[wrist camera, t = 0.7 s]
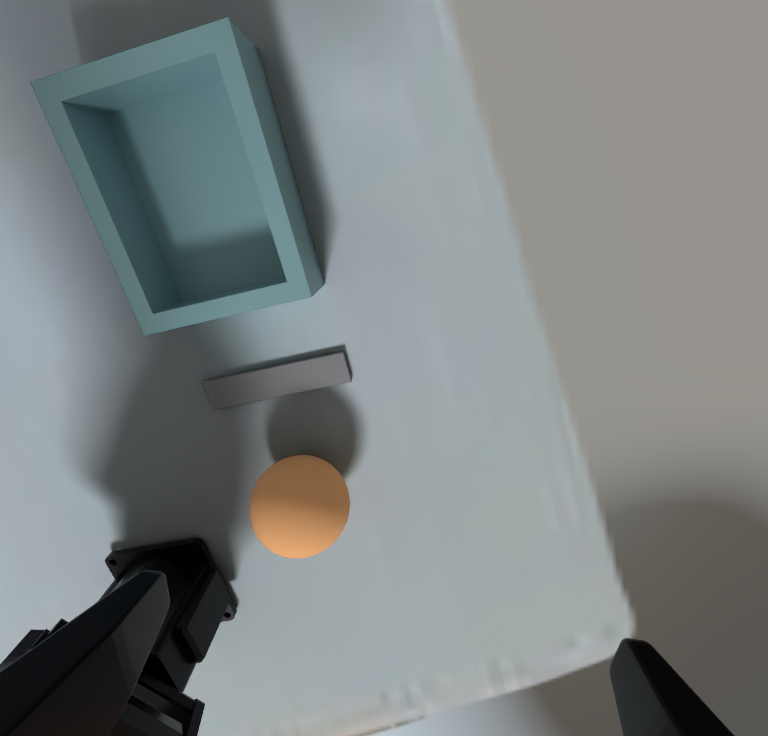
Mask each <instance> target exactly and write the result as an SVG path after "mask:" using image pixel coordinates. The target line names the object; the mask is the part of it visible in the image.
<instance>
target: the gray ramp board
mask: <svg viewBox="0 0 768 736" xmlns="http://www.w3.org/2000/svg"><path fill="white" fill-rule="evenodd" d="M351 381H352V378H351V375H350V371H349V368H348V364H347V361H346V357H345V354H344V351H340V352H335V353H331V354H326V355H321V356H317V357H312V358H307V359H303V360H298V361H293V362H289V363H284V364H279V365H275V366H270V367H265V368H261V369H256V370H251V371H247V372H242V373H237V374H233V375H228V376H223V377H219V378H214V379H209V380H205V381H203V382H202V385H203V387H204V389H205V392H206V394H207V397H208V399H209V401H210V404H211V406H212V409H213V410H216V409H221V408H225V407H230V406H235V405H240V404H245V403H250V402H255V401H260V400H265V399H270V398H275V397H279V396H284V395H289V394H294V393H299V392H304V391H309V390H314V389H319V388H324V387H329V386H333V385H338V384H343V383H348V382H351Z"/></svg>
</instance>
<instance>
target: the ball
mask: <svg viewBox="0 0 768 736" xmlns="http://www.w3.org/2000/svg"><path fill="white" fill-rule="evenodd" d="M349 507H350V500H349V492H348V488H347V486H346V483H345V481H344V479H343V477H342V476H341V474H340V473H339V472H338V470H337V469H336V468H335V467H334V466H332V465H331V464H330V463H328V462H326V461H325V460H323V459H321V458H318V457H315V456H309V455H295V456H290V457H287V458H284V459H282V460H280V461H278V462H276V463H275V464H273V465H272V466H270V467H269V468H268V469H267V470H266V471H265V472H264V473H263V474H262V475H261V477H260V478H259V480H258V481H257V483H256V485H255V487H254V489H253V492H252V495H251V499H250V520H251V524H252V527H253V530H254V532H255V534H256V536H257V537H258V539H259V540H260V541H261V542H262V543H263V545H264V546H265V547H267V548H268V549H269V550H271V551H272V552H274V553H276V554H278V555H280V556H284V557H288V558H305V557H310V556H313V555H316V554H318V553H320V552H322V551H324V550H325V549H327V548H328V547H329V546H330V545H331V544H332V543H334V542H335V540H336V539H337V538H338V537H339V535H340V534H341V532H342V531H343V529H344V527H345V524H346V522H347V519H348V515H349Z"/></svg>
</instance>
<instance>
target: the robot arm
mask: <svg viewBox="0 0 768 736" xmlns="http://www.w3.org/2000/svg"><path fill="white" fill-rule="evenodd" d="M196 547H197V548H196ZM105 562H106V565H107V566H108V568H109V570H110V571H111V573H112V575H113V576H114V578H115V580H114V582H113V583H112V584H111V585H110V587H109V588H108V589H107V590H106V592H105V593H104V594H103V596H102V597H101V598H100V599H99V601H98V602H97V603H95V604H94V605H93V606H91V607H90V608H88V609H87V610H86V611H84V612H83V613H81V614H80V615H79V616H77V617H76V618H74V619H73V620H72V621H70V622H67V621H65V620H64V619H61V620H60V621H59V622H58V623H57V624H56V625H55V626H54V627H53V628H52V629H51V630H50V631H49V630H47V629H46V630H30V632H29V633H28V634H27V635H26V636H25V637H24V638H23V639H22V640H21V642H20V643H19V644H18V645H17V646H16V647H15V648H14V650H13V651H12V652H11V653H10V654H9V655H8V656H7V657H6V659H5V660H4V661H3V662H2V663H1V664H0V736H197V734H198V730H199V726H200V722H201V718H202V714H203V710H204V706H205V703H203V702H201V701H200V700H198V699H195V700H194V699H192V698H190V697H189V696H187V695H185V694H184V693H183V691H184V689H185V687H186V685H187V682H188V680H189V678H190V676H191V674H192V672H193V669H194V667H195V665H196V663H200V662H202V660H203V659H204V658H205V656H206V653H207V651H208V649H209V647H210V644H211V642H212V640H213V638H214V635H215V633H216V631H217V629H218V627H219V624H220V622H223V621H230V620H232V619H234V617H235V614H236V612H237V609H236V607H235V605H234V603H233V601H232V599H231V596H230V594H229V592H228V590H227V588H226V586H225V584H224V582H223V580H222V578H221V576H220V574H219V571H218V569H217V567H216V565H215V563H214V561H213V559H212V557H211V555H210V553H209V551H208V549H207V547H206V544H205V543H204V541H202V540H201V539H198V538H192V539H186V540H180V541H174V542H168V543H162V544H156V545H150V546H143V547H137V548H131V549H125V550H119V551H113V552H111V553H110V554H109V555H108V557H107V558H106V559H105ZM610 677H611V682H612V687H613V691H614V696H615V700H616V705H617V709H618V714H619V718H620V723H621V728H622V732H623V736H734V735H733V734H732V732H731V731H730V730H729V729H728V728H727V727H726V726H725V725H724V724H723V723H722V721H721V720H719V718H718V717H717V716H716V715H715V714H714V713H713V712H712V711H711V710H710V708H709V707H708V706H707V705H706V704H705V703H704V702H703V701H702V700H701V699H700V698H699V696H698V695H697V694H696V693H695V692H694V691H693V690H692V689H691V688H690V687H689V686H688V684H687V683H686V682H685V681H684V680H683V679H682V678H681V677H680V676H679V675H678V673H677V672H676V671H675V670H674V669H673V668H672V667H671V666H670V665H669V664H668V663H667V661H666V660H665V659H664V658H663V657H662V656H661V655H660V654H659V653H658V652H657V651H656V649H655V648H654V647H653V646H651V644H649V643H648V642H646V641H643V640H638V639H630V638H625V639H623V640H622V641H621V643H620V645H619V647H618V649H617V651H616V653H615V656H614V658H613V660H612V662H611V666H610Z"/></svg>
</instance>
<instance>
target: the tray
mask: <svg viewBox="0 0 768 736" xmlns="http://www.w3.org/2000/svg"><path fill="white" fill-rule="evenodd" d="M30 83H31V85H32V87H33V90H34V92H35V94H36V96H37V99H38V101H39V103H40V105H41V107H42V110H43V112H44V114H45V116H46V119H47V121H48V123H49V125H50V128H51V130H52V132H53V134H54V136H55V139H56V141H57V143H58V145H59V148H60V150H61V152H62V154H63V156H64V159H65V161H66V163H67V165H68V168H69V170H70V172H71V174H72V177H73V179H74V181H75V183H76V185H77V188H78V190H79V192H80V194H81V197H82V199H83V201H84V203H85V206H86V208H87V210H88V212H89V214H90V217H91V219H92V221H93V223H94V226H95V228H96V230H97V232H98V235H99V237H100V239H101V241H102V243H103V246H104V248H105V250H106V252H107V255H108V257H109V259H110V261H111V263H112V266H113V268H114V270H115V272H116V275H117V277H118V279H119V281H120V284H121V286H122V288H123V290H124V292H125V295H126V297H127V299H128V301H129V304H130V306H131V308H132V310H133V313H134V315H135V317H136V319H137V321H138V324H139V326H140V328H141V330H142V333H143V335H144V336H146V335H150V334H154V333H159V332H163V331H167V330H171V329H176V328H180V327H184V326H189V325H193V324H197V323H202V322H206V321H210V320H214V319H219V318H223V317H227V316H232V315H236V314H240V313H244V312H249V311H253V310H257V309H262V308H266V307H270V306H275V305H279V304H283V303H287V302H292V301H296V300H300V299H305V298H309V297H312V296H313V295H314V294H315V293H316V292H317V291H318V290H319V289H320V288H321V287H322V286H323V285H325V283H324V280H323V276H322V273H321V269H320V266H319V262H318V259H317V255H316V252H315V248H314V245H313V241H312V238H311V234H310V231H309V227H308V224H307V220H306V216H305V213H304V209H303V206H302V202H301V199H300V195H299V192H298V188H297V185H296V181H295V178H294V174H293V171H292V167H291V164H290V160H289V157H288V153H287V150H286V146H285V143H284V139H283V136H282V132H281V129H280V125H279V122H278V118H277V115H276V111H275V107H274V104H273V100H272V97H271V93H270V90H269V86H268V83H267V79H266V76H265V72H264V69H263V65H262V62H261V58H260V55H259V51H258V48H257V47H256V46H255V45H254V44H253V43H252V42H251V41H250V40H249V38H248V37H247V36H246V35H245V34H244V33H243V32H242V31H241V30H240V29H239V28H238V27H237V26H236V25H235V24H234V23H233V21H232V20H231V19H230V18H229V17H226V18H223V19H220V20H217V21H214V22H211V23H208V24H205V25H202V26H199V27H196V28H193V29H190V30H187V31H184V32H181V33H178V34H175V35H172V36H169V37H166V38H163V39H160V40H156V41H153V42H150V43H147V44H144V45H141V46H138V47H135V48H132V49H129V50H126V51H123V52H120V53H117V54H114V55H111V56H108V57H105V58H102V59H99V60H96V61H93V62H90V63H87V64H84V65H81V66H78V67H75V68H71V69H68V70H65V71H62V72H59V73H56V74H53V75H50V76H47V77H44V78H41V79H38V80H35V81H32V82H30Z"/></svg>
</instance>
